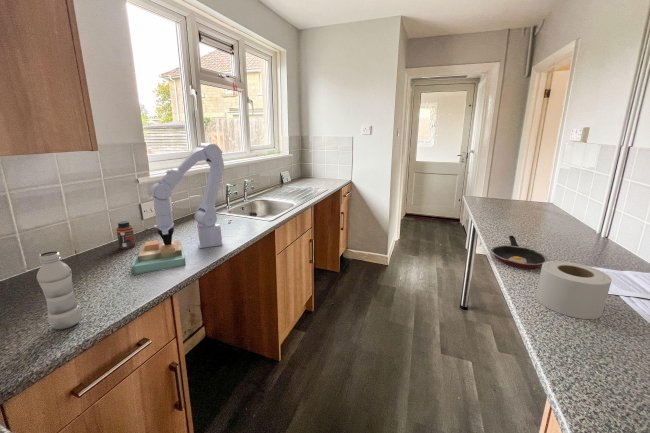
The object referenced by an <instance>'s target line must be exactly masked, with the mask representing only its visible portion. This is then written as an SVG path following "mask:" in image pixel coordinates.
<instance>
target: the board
mask: <svg viewBox="0 0 650 433" xmlns="http://www.w3.org/2000/svg"><path fill="white" fill-rule="evenodd" d="M159 243H160V247H159V249H153V250H146V251H145V247H144V246H145V244H142V245H140V249H139V250H138V251H139V252H138V255H137V258H138V262H141V261H147V260H153V259H160V258H166V257H173V256H179V255H182V242H181V239H179V240H178V239H177V240H172V244H175V248H176V250H175V253H170V254H163V255H161V251H160V249H161V246H162V245H164V242H163V241H162V242H159Z"/></svg>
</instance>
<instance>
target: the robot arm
mask: <svg viewBox="0 0 650 433" xmlns="http://www.w3.org/2000/svg"><path fill="white" fill-rule="evenodd" d="M222 155H223V150H222V149H221V148H220V147H219V146H218V145H217V144H215V143H206V142H201V143H199V144H198V146H196V147H194V149H193V150H191V152H190V154H188V156H187V157H186V158H185V159H184V160H183V161H182V162H181V163H180V165H178V167H177V168H171V169H170V170H169V169H167V171H165V173H166V174H164V176H163V177H162V178H161V179H158V180H157V181H156V182H157V183H154V184H153V185H152V186H151V187H150V190H149V194H150V195H151V197H152V198H153V199H152V200H153V208H154V215H155V219H156V224H154V225H153V228H154V229H158V230H157V234H158V235H159V236H160V238H161V239H162V242H164V245H169V244H172V241H173V240H172V239H173V234H174V232H175V228H174V226H175V223H174V220H173V213H172V205H171V201H170V197H171V195H172V191H174V190H175V188H176V187H177V186H179V184H181V182H183V181H184V180H185V177H184V175H185V174H186V173H188V171H189V170H190V169H192V168H193V167H194V166H195V165H196V164H197V163H198V162H201V161H205V162H206V163H207V165H208V166H209V172H208V176H207V181H206V184H205V189H204V192H203V197H202V201H201V203H200V204H199V205H198V207H197V210H196V211H195V213H194V216H193V217H194V220H195V222H197V226H196V227H197V232H198V233H197V234H198V241H197V243H198V248H199V249H205V248H211V247H218V246H222V245H223V237H222V228H221V225H220V223H217V221H218V218H217V211H218V210H217V208H216V202H217V197H218V193H219V190H220V186H221V181H222V176H223V172H224V168H225V164H224V158H223V156H222Z"/></svg>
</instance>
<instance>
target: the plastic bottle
mask: <svg viewBox="0 0 650 433" xmlns="http://www.w3.org/2000/svg"><path fill="white" fill-rule="evenodd" d="M38 258H39V263H40V264H41V266H40V267H39V269H38V271H37V273H36V280H37V282H38V285H39V286H40V288H41V290H42V292H43V295H44V299H45V300H46V308H47V322H48V324H49V326H50V327H51V328H52V329H55V330H64V329H68V328H71V327H73V326H75V325H78V323H79V322H80V321H81V319H82V310H81V307H80V305H79V304H78V301H77V299H76V297H75V294H74V293H75V292H74V288H73V274H72V268H70V266H69V265H68V264H67V263H65V262H64V261H62V257H61V254H60V252H59V251H58V250H51V251H45V252H42V253H40V254H39V255H38Z"/></svg>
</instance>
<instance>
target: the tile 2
mask: <svg viewBox="0 0 650 433" xmlns="http://www.w3.org/2000/svg"><path fill="white" fill-rule="evenodd" d="M175 250H176V248H175V244H169V245H162V246H161V249H160V251H161V255H163V254H170V253H175Z"/></svg>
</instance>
